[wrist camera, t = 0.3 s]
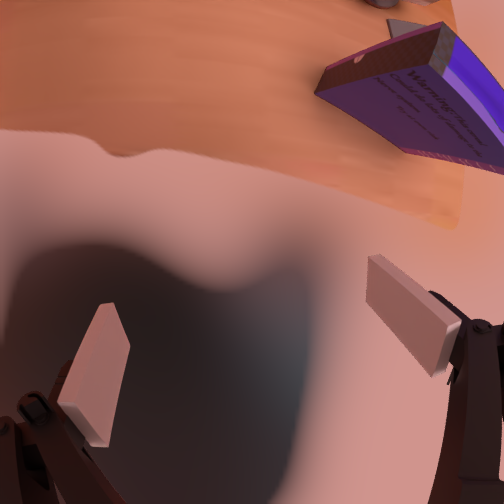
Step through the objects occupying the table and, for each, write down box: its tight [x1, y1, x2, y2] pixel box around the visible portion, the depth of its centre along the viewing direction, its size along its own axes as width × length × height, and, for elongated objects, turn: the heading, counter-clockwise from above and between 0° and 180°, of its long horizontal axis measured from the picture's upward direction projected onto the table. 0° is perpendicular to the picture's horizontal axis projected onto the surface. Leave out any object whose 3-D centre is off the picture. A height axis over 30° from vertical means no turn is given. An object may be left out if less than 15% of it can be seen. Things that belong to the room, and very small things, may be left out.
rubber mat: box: [386, 19, 426, 39], centre depth 36 cm, size 12×11×1 cm
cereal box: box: [314, 21, 504, 175], centre depth 28 cm, size 17×5×24 cm, turn 65°
